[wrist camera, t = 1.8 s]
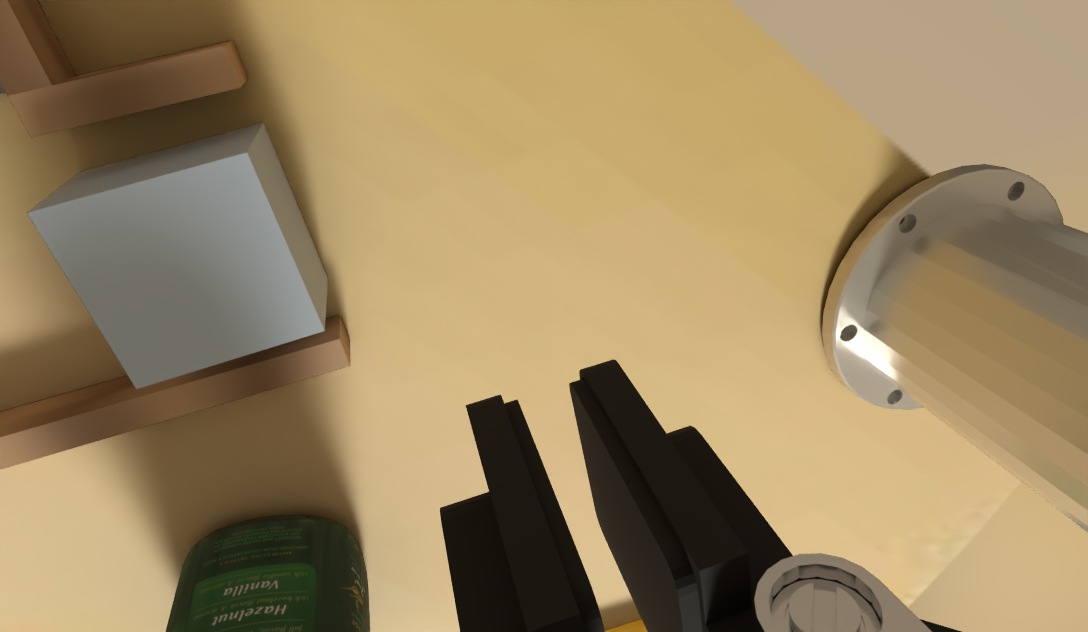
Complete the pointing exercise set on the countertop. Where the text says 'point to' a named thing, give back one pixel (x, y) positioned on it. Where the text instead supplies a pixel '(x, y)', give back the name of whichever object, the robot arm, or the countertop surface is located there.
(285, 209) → the slate block
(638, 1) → the countertop surface
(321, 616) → the coffee jar
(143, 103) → the brown wooden open frame
